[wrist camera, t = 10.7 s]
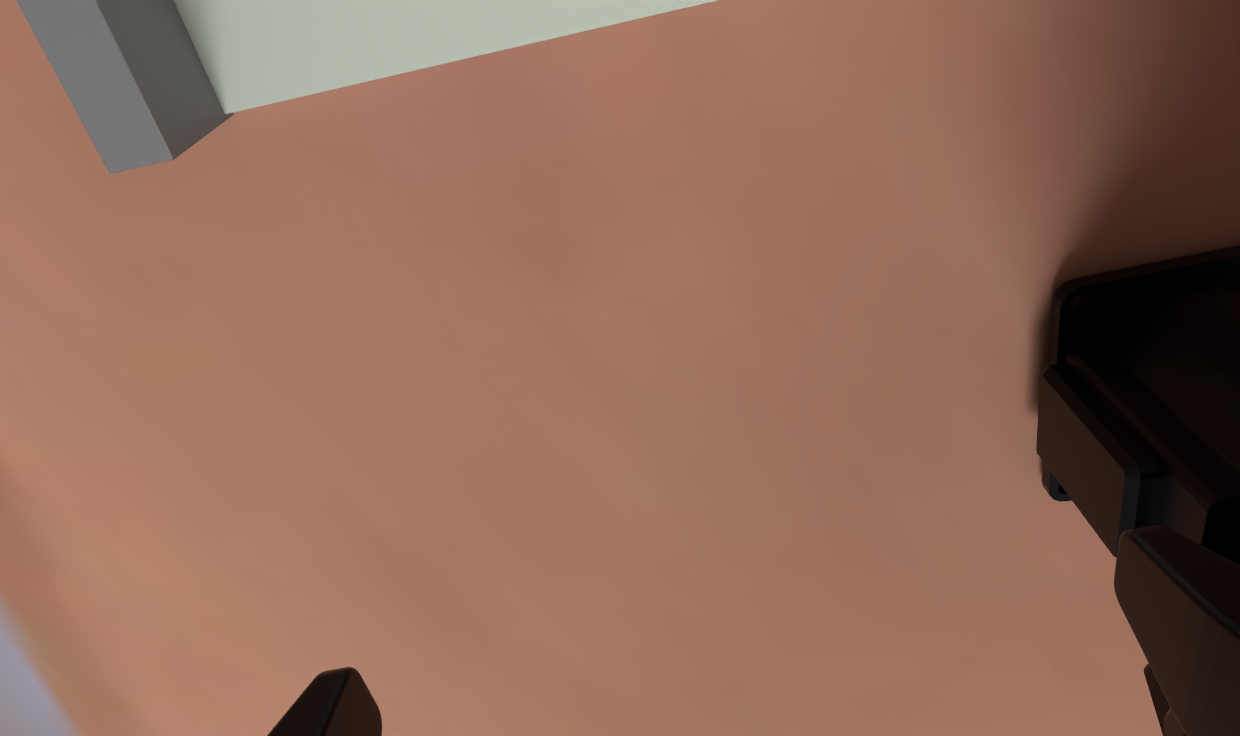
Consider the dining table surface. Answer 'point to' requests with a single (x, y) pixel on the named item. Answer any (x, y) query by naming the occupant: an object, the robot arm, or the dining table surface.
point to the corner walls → (128, 76)
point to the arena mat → (372, 38)
